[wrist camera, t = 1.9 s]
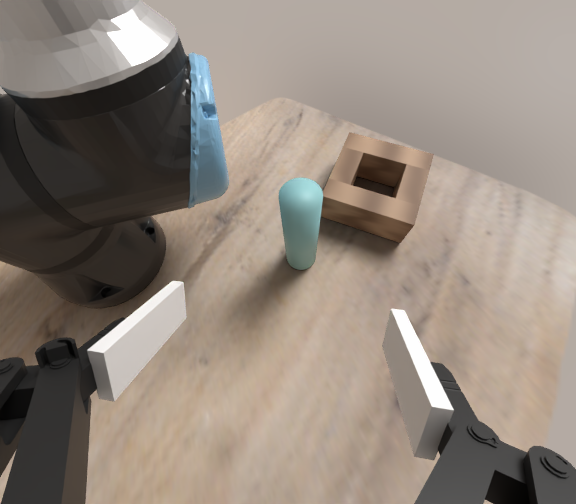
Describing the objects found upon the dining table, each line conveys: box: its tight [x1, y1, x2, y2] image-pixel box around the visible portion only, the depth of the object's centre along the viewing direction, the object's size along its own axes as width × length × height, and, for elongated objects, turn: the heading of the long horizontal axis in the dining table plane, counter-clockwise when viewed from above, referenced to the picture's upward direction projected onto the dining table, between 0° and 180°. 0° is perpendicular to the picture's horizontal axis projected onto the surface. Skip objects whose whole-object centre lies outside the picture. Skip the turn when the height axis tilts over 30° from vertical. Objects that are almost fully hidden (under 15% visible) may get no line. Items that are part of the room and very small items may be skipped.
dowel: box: [279, 178, 323, 270], centre depth 30 cm, size 4×4×14 cm
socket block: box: [321, 133, 434, 243], centre depth 38 cm, size 12×12×5 cm
